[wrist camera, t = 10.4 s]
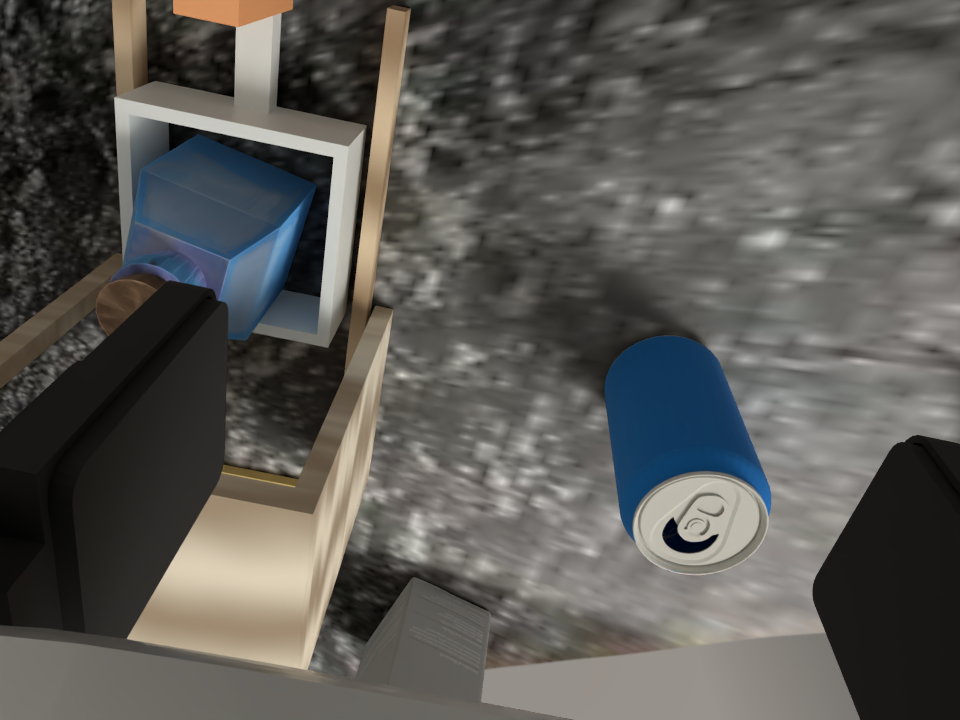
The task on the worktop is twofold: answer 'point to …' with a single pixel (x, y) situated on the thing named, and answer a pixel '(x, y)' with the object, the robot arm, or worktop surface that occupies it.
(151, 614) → the tunnel
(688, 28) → the worktop surface
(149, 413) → the robot arm
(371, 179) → the track
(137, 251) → the perfume bottle
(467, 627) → the skincare box
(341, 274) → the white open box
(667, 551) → the beverage can
